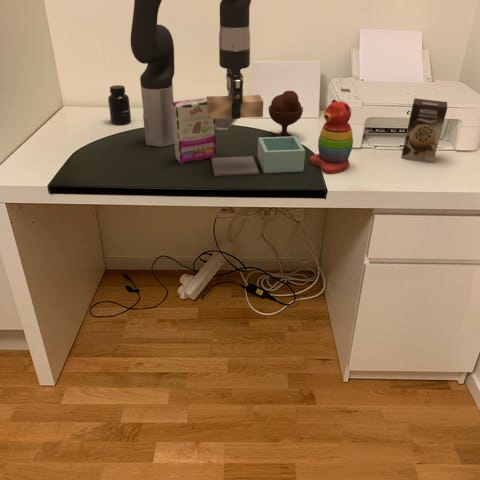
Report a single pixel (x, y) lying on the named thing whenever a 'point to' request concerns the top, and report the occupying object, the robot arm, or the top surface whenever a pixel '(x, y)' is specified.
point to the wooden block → (223, 106)
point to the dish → (281, 154)
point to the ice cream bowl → (285, 111)
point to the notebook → (223, 123)
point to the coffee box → (424, 130)
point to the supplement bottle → (119, 106)
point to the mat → (234, 166)
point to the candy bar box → (193, 131)
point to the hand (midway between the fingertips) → (234, 114)
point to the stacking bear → (334, 139)
